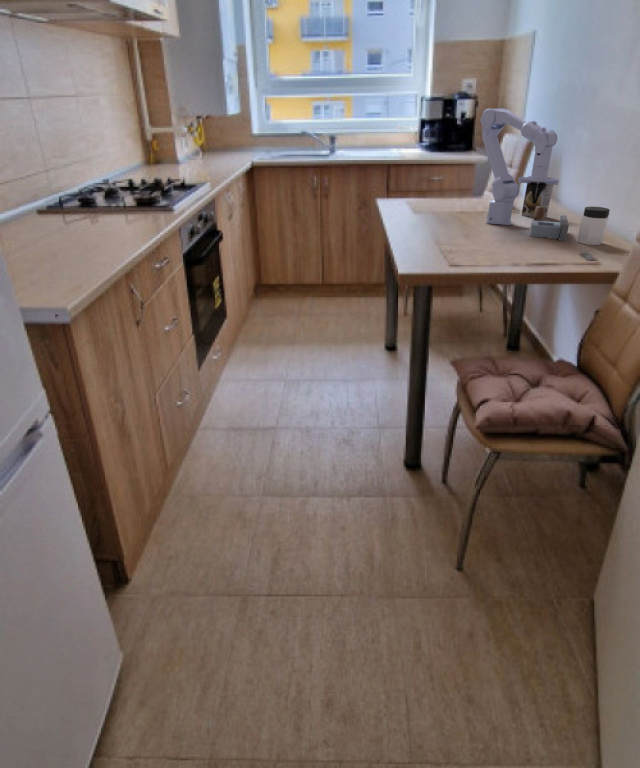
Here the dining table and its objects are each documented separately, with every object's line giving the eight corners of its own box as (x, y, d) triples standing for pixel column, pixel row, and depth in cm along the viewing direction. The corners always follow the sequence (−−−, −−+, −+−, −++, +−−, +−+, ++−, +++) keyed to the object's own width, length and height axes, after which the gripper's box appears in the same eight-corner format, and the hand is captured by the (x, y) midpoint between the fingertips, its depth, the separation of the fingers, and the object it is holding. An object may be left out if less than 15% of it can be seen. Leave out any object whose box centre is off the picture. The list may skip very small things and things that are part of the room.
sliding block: (530, 236, 215) (532, 225, 213) (530, 230, 224) (532, 220, 222) (558, 238, 213) (560, 227, 211) (557, 233, 221) (559, 222, 219)
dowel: (532, 228, 228) (535, 207, 224) (532, 226, 231) (535, 205, 227) (541, 229, 227) (545, 208, 223) (541, 227, 230) (545, 206, 226)
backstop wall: (559, 241, 209) (562, 224, 206) (557, 230, 224) (560, 215, 222) (565, 241, 209) (568, 224, 206) (563, 231, 224) (566, 215, 221)
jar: (607, 244, 206) (616, 209, 201) (591, 246, 203) (599, 211, 197) (587, 238, 213) (595, 205, 208) (571, 240, 210) (579, 207, 204)
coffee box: (520, 215, 251) (527, 176, 243) (528, 213, 254) (535, 175, 247) (539, 218, 245) (547, 179, 237) (547, 217, 248) (555, 177, 241)
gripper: (520, 166, 214) (514, 203, 220) (561, 168, 210) (554, 206, 216) (521, 164, 220) (515, 200, 226) (561, 166, 216) (554, 203, 222)
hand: (534, 203), depth 222 cm, fingers closed
